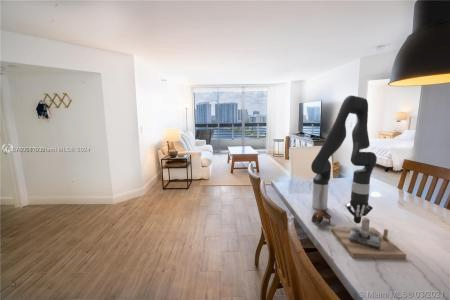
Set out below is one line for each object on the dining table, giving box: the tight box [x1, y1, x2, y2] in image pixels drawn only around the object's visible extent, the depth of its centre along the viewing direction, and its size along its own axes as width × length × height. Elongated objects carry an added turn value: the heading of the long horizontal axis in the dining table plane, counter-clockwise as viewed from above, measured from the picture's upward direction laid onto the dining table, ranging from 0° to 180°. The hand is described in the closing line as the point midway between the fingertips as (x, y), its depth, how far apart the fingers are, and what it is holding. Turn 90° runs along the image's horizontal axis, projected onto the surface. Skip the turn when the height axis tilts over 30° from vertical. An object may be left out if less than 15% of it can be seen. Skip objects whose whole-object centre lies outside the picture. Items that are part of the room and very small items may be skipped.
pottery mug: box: [311, 209, 332, 225], centre depth 120 cm, size 12×10×8 cm
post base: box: [330, 217, 407, 260], centre depth 100 cm, size 22×22×12 cm
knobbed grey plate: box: [349, 216, 380, 249], centre depth 102 cm, size 16×12×7 cm
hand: (357, 222), depth 108 cm, fingers closed
